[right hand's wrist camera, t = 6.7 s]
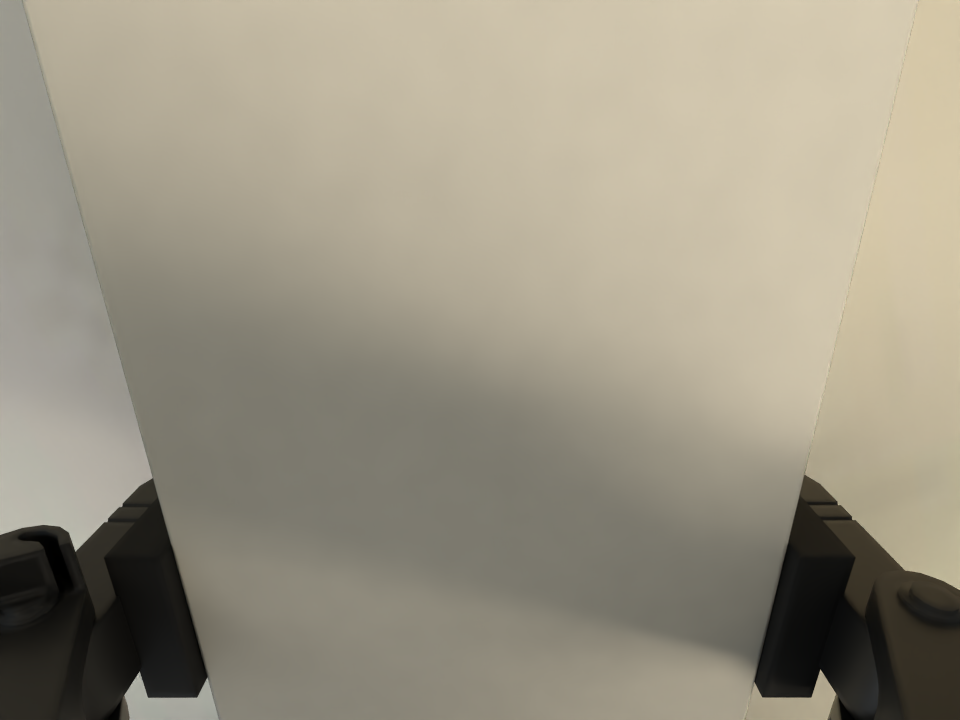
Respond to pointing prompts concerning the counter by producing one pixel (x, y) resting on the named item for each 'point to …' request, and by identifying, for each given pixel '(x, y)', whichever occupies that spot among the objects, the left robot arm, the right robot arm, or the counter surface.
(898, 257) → the counter surface
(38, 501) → the counter surface
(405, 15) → the wide beam
